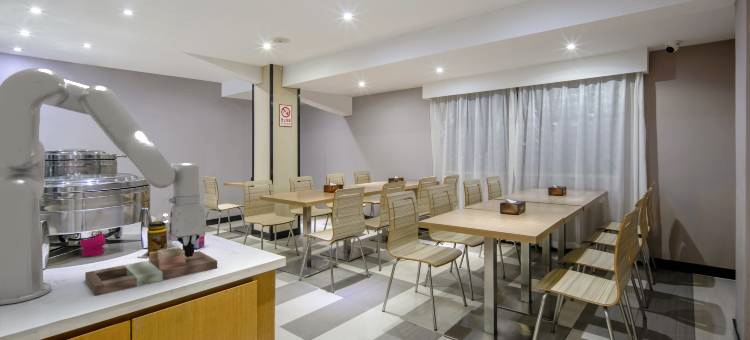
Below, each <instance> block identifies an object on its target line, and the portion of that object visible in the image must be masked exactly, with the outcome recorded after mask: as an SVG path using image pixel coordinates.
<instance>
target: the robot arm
mask: <svg viewBox="0 0 750 340" xmlns="http://www.w3.org/2000/svg"><path fill="white" fill-rule="evenodd" d="M43 104H44V105H46V106H49V107H50V106H51V107H55V108H58V109H64V110H67V111H70V112H71V111H72V112H76V113H79V114H83V115H88V116H90V117H91V119H92V120H93V121H94V122H95V123H96V124H97V126H98V127H99V128H100V129H101V130H102V132H103V133H104V134H105V135H106V136H107V138H108V139H109V140H110V141H111V142H112V144H113V145H115V147H116V148H117V149H118V150H119V151H120V152H121V153H123V154H124V155H125V156H126V158H128V159H129V161H131V163H132V164H133V165H134V166H135V167H136V169H137V170H138V171H139V172H140V173H141V175H142V176H143V177H144V179H145V181H146V182H147V183H148V184H149V185H151V186H152V187H154V188H158V189H165V188H168V187H170V186H171V185H173V188H172V189H173V191H172V193H173V196H172V197H173V198H171V199H169V200H168V203H169V204H171V203H172V205H171V208H170V212H171V213H170V223H169V231H170V240H171V241H173V242H179V243H180V244H181V245H182V249H183V250H184V251H185V256H186V257H190V256H191V257H192V256H193V253H194V252H195V250H194V244H195V242H196V241H197V239H198V238H199V237H202V236H204V237H205V236H206V232H207V221H206V219H207V218H206V214H205V208H204V204H203V203H201V198H200V195H201V194H200V193H201V191H200V190H201V189H200V166H199V164H198V163H197V162H176V163H171V162H169V161H168V159H166V157H165V156H164V154H163V153H162V152H161V151H160V149H158V147H157V145H155V144H154V142H153V141H152V140H151V138H150V137H149V135H148V134H147V132H146V131H145V130H144V129H143V128H142V127H141V125H140V124H139V122H137V121H136V119H135V118H134V117H133V115H132V114H131V113H130V111H129V110H128V109H127V107H126V106H125V105H124V103H123V102H122V101H121V100H120V98H119V97H118V96H117V95H116V94H115V92H114V91H112V89H110V88H109V87H106V86H104V85H100V84H95V85H91V86H89V85H85V84H82V83H78V82H75V81H71V80H69V79H64V78H63V77H62V76H61V75H60V74H59V73H57V72H56V71H55V70H52V69H49V68H45V67H31V68H25V69H23V70H19V71H17V72H13V74H11V75H9V76H8V77H6V78H5V79H4V80H3V81H2V83H1V84H0V305H2V306H3V305H10V304H11V305H12V304H16V303H21V302H22V303H23V302H26V301H30V300H34V299H36V298H38V297H41V296H44V295H47V294H48V293H49V292H50V291H51V290H52V284H51V283H49V282H44V266H43V265H44V264H43V242H42V241H43V239H42V238H43V237H42V221H41V209H40V199H42V196H44V195H43V194H44V190H45V171H46V169H45V167H46V150H45V147H44V145H43V142H41V141H40V123H41V108H42V105H43ZM187 236H189V242H187Z"/></svg>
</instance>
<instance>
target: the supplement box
mask: <svg viewBox="0 0 750 340" xmlns="http://www.w3.org/2000/svg"><path fill="white" fill-rule="evenodd" d="M187 242H189V236H187ZM204 246H205V236H202V237H199V238H198V239H197V241H196V242H195V244H194V251H195V250H199V249H201V248H202V247H204Z"/></svg>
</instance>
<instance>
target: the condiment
mask: <svg viewBox="0 0 750 340" xmlns="http://www.w3.org/2000/svg"><path fill="white" fill-rule="evenodd" d="M147 225H148V227H147V228H148V230H147V235H146V237H147V251H146V252H145V253H144V254H142V255H140V256H138V257H137V259H138V258H139V259H140V258H142V259H143V258H149V253H151V252H156V251H158V250H163V249H168V248H167V230H166V228H165V222H163V221H156V222H153V221H150V222H149V223H148V224H147Z"/></svg>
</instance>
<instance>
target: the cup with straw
mask: <svg viewBox="0 0 750 340" xmlns="http://www.w3.org/2000/svg"><path fill="white" fill-rule="evenodd" d="M171 198H173V196H172V197H166V198H164V199H163V211H162V212H160V213H157V215H156V217H155V218H154V220H153V221H152V222H156V221H163V222H165V228H166V230H167V249H169V248H173V243H174V241H171V240H170V231H169V223H170V213H171V211H167V207H166V206H167V201H169V199H171Z"/></svg>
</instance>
